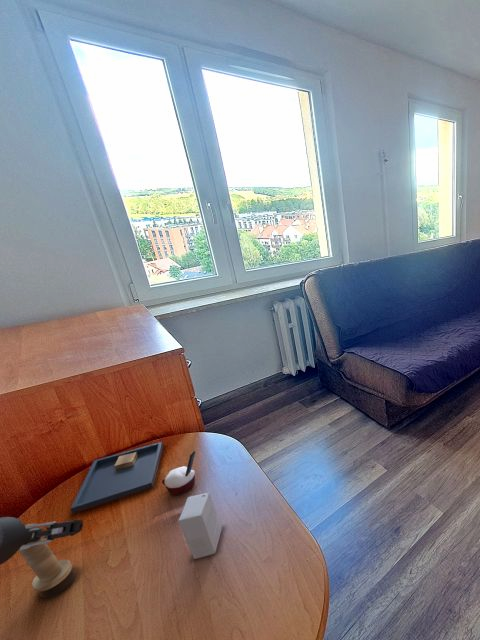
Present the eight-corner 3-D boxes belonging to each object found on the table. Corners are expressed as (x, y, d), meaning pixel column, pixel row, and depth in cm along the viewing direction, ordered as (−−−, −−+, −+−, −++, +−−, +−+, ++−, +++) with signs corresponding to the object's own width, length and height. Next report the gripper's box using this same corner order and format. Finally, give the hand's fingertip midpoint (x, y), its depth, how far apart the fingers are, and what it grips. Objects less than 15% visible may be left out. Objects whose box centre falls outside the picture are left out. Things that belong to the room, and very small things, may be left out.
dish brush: (36, 605, 63) (2, 562, 58) (44, 580, 67) (12, 538, 62) (74, 587, 66) (45, 544, 61) (79, 564, 70) (52, 522, 65)
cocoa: (160, 493, 86) (146, 458, 82) (184, 475, 92) (172, 441, 87) (186, 505, 83) (172, 468, 79) (209, 485, 89) (197, 450, 84)
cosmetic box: (201, 534, 76) (187, 496, 72) (222, 529, 77) (210, 491, 73) (192, 560, 71) (177, 520, 66) (215, 554, 72) (201, 515, 67)
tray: (73, 515, 80) (70, 508, 80) (96, 466, 95) (94, 460, 94) (153, 489, 88) (151, 482, 87) (164, 447, 102) (162, 441, 101)
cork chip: (115, 470, 92) (114, 466, 92) (120, 460, 96) (119, 456, 95) (133, 465, 94) (132, 461, 94) (138, 455, 97) (136, 451, 97)
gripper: (33, 510, 55) (102, 502, 70) (-80, 530, 52) (17, 517, 67) (20, 564, 52) (94, 543, 67) (-101, 589, 49) (5, 561, 64)
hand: (56, 530), depth 67 cm, fingers open, 7 cm apart
